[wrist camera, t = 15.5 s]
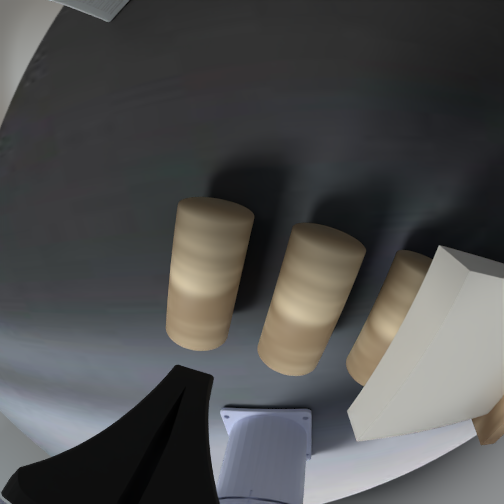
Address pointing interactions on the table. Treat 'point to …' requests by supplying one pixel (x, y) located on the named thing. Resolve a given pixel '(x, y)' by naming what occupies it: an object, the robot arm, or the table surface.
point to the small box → (96, 7)
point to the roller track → (281, 289)
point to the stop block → (490, 424)
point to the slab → (440, 353)
